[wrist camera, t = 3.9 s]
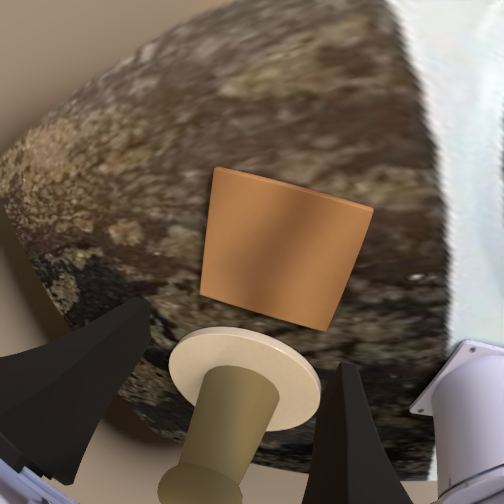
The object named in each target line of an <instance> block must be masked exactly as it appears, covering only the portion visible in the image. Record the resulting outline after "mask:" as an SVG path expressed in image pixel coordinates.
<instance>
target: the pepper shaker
mask: <svg viewBox="0 0 504 504" xmlns="http://www.w3.org/2000/svg"><path fill="white" fill-rule="evenodd" d="M279 400H280V396H279V391H278V390H277V388H276V387H275V385H274V384H273V383H272V382H271V381H269V380H268V379H267V378H266V377H265V376H263V375H261V374H259V373H257V372H255V371H253V370H250V369H246V368H243V367H239V366H230V365H225V366H217V367H214V368H212V369H210V370H208V372H207V373H206V374H205V376H204V378H203V382H202V385H201V388H200V392H199V395H198V398H197V402H196V405H195V409H194V412H193V415H192V419H191V422H190V426H189V429H188V432H187V436H186V439H185V443H184V446H183V450H182V453H181V456H180V460H179V463H178V465H177V466H175V467H173V468H171V469H169V470H168V471H167V472H166V473H165V474H164V475H163V477H162V478H161V481H160V482H159V486H158V497H159V501H160V502H161V504H242V493H241V491H240V488H239V484H240V482H241V480H242V478H243V476H244V474H245V472H246V471H247V468H248V467H249V464H250V462H251V460H252V458H253V456H254V454H255V452H256V450H257V448H258V446H259V444H260V442H261V440H262V438H263V435H264V433H265V431H266V429H267V427H268V425H269V423H270V420H271V418H272V416H273V414H274V412H275V409H276V407H277V405H278V403H279Z"/></svg>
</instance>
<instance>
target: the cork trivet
mask: <svg viewBox="0 0 504 504" xmlns="http://www.w3.org/2000/svg"><path fill="white" fill-rule="evenodd" d="M372 215H373V208H372V207H368V206H365V205H362V204H359V203H355V202H352V201H349V200H345V199H342V198H339V197H335V196H332V195H328V194H325V193H321V192H318V191H314V190H311V189H307V188H303V187H300V186H296V185H292V184H288V183H285V182H281V181H277V180H273V179H269V178H265V177H261V176H257V175H253V174H249V173H244V172H240V171H236V170H232V169H227V168H223V167H216V168H215V169H214V174H213V181H212V189H211V197H210V205H209V213H208V221H207V230H206V238H205V247H204V256H203V266H202V276H201V286H200V295H203V296H206V297H209V298H212V299H216V300H219V301H222V302H225V303H228V304H231V305H234V306H238V307H241V308H244V309H247V310H251V311H254V312H257V313H261V314H264V315H267V316H271V317H274V318H277V319H281V320H284V321H288V322H291V323H295V324H298V325H302V326H305V327H309V328H312V329H316V330H320V331H323V332H326V331H327V329H328V326H329V324H330V322H331V319H332V317H333V315H334V313H335V310H336V308H337V306H338V303H339V301H340V298H341V296H342V294H343V291H344V289H345V286H346V284H347V281H348V279H349V276H350V274H351V271H352V269H353V266H354V264H355V261H356V259H357V256H358V253H359V251H360V248H361V245H362V243H363V240H364V237H365V234H366V232H367V229H368V226H369V223H370V220H371V218H372Z"/></svg>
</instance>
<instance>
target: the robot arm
mask: <svg viewBox="0 0 504 504" xmlns="http://www.w3.org/2000/svg"><path fill="white" fill-rule="evenodd" d="M150 340H151V332H150V314H149V302H147V301H145V300H142V299H139V298H137V297H134V298H133V299H131V300H129V301H127V302H125V303H124V304H122V305H120V306H119V307H117V308H115V309H114V310H112V311H110V312H109V313H107V314H105V315H103V316H102V317H100V318H98V319H96V320H95V321H93V322H91V323H89V324H88V325H86V326H84V327H82V328H80V329H78V330H76V331H74V332H72V333H70V334H68V335H66V336H64V337H62V338H60V339H57V340H55V341H53V342H50V343H48V344H45V345H42V346H40V347H37V348H34V349H30V350H28V351H24V352H21V353H17V354H13V355H9V356H5V357H0V504H49V503H48V501H49V502H50V503H52V504H79V503H77V502H76V501H74V500H72V499H71V498H69V497H68V496H66V495H65V494H63V493H62V492H60V491H59V490H57V489H55V488H54V487H53V486H51V485H50V484H49V483H47V482H46V481H44V480H43V479H41V478H42V476H43V475H44V476H45V477H47V478H48V479H50V480H51V479H52V478H54V479H56V480H57V481H59V482H60V483H62V484H63V485H71V484H73V482H74V479H75V476H76V474H77V471H78V468H79V465H80V463H81V460H82V458H83V455H84V453H85V451H86V448H87V446H88V444H89V442H90V440H91V437H92V435H93V433H94V431H95V429H96V427H97V425H98V423H99V421H100V419H101V418H102V416H103V414H104V412H105V410H106V408H107V407H108V405H109V404H110V402H111V400H112V399H113V397H114V396H115V395H116V393H117V392H118V391H119V389H120V388H121V386H122V385H123V383H124V382H125V381H126V379H127V378H128V376H129V375H130V374H131V372H132V371H133V369H134V368H135V367H136V365H137V364H138V362H139V361H140V359H141V357H142V355H143V354H144V352H145V350H146V348H147V346H148V344H149V342H150ZM472 347H473V348H472ZM470 348H471V349H470ZM410 412H411V413H415V414H422V415H429V416H433V420H434V430H435V441H436V455H437V476H438V500H437V501H435V502H433V503H431V504H504V348H501V347H497V346H493V345H489V344H484V343H480V342H476V341H472V340H464V341H463V342H461V344H460V345H459V346H458V348H457V349H456V350H455V352H454V353H453V354H452V356H451V357H450V358H449V360H448V361H447V362H446V364H445V365H444V366H443V367H442V369H441V370H440V371H439V373H438V374H437V375H436V376H435V378H434V379H433V380H432V381H431V382H430V384H429V385H428V386H427V387H426V388H425V390H424V391H423V392H422V393H421V394H420V395H419V397H418V398H417V399H416V400H415V401H414V402H413V403H412V404H411V406H410ZM302 504H413V502H412V501H411V499H410V497H409V496H408V494H407V492H406V491H405V489H404V487H403V486H402V484H401V482H400V481H399V479H398V477H397V475H396V473H395V471H394V469H393V467H392V465H391V463H390V461H389V459H388V457H387V455H386V452H385V450H384V448H383V445H382V443H381V440H380V438H379V435H378V432H377V430H376V427H375V424H374V421H373V418H372V415H371V412H370V409H369V406H368V403H367V399H366V396H365V392H364V389H363V385H362V382H361V378H360V374H359V370H358V367H357V366H356V365H352V364H348V363H343V362H340V364H339V366H338V367H337V369H336V371H335V373H334V374H333V376H332V378H331V380H330V381H329V383H328V385H327V386H326V388H325V390H324V391H323V393H322V396H321V400H320V405H319V409H318V414H317V418H316V426H315V435H314V443H313V451H312V459H311V467H310V473H309V478H308V482H307V486H306V490H305V493H304V497H303V500H302Z"/></svg>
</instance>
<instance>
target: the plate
mask: <svg viewBox="0 0 504 504" xmlns="http://www.w3.org/2000/svg"><path fill="white" fill-rule="evenodd" d="M225 365H230V366H239V367H243V368H246V369H250V370H253V371H255V372H257V373H259V374H261V375H263V376H265V377H266V378H267V379H268V380H269V381H271V382H272V383H273V384H274V385H275V387H276V388H277V390H278V391H279V396H280V400H279V403H278V405H277V407H276V409H275V412H274V414H273V416H272V418H271V420H270V423H269V425H268V427H267V429H266V431H278V430H285V429H289V428H293V427H296V426H298V425H300V424H302V423H304V422H306V421H307V420H308V419H310V418H311V417H312V416H313V415H314V413H315V412H316V410H317V408H318V406H319V403H320V398H321V385H320V380H319V378H318V376H317V373H316V372H315V370H314V369H313V367H312V366H311V365H310V364H309V362H308V361H307V360H306V359H305V358H304V357H302V356H301V355H300V354H299V353H298V352H296V351H295V350H294V349H292V348H291V347H289V346H287V345H286V344H284V343H282V342H280V341H278V340H276V339H274V338H272V337H269V336H267V335H264V334H261V333H258V332H255V331H251V330H247V329H241V328H235V327H209V328H203V329H200V330H196V331H194V332H191V333H189V334H187V335H186V336H185V337H183V338H182V339H181V340H180V341H179V342H178V343H177V345H176V346H175V348H174V350H173V351H172V353H171V355H170V359H169V371H170V375H171V378H172V380H173V382H174V384H175V385H176V387H177V389H178V390H179V391H180V392H181V394H182V395H183V396H184V397H185V398H186V399H187V400H188V401H189V402H190V403H191V404H193V405H194V406H195V405H196V402H197V398H198V395H199V392H200V388H201V385H202V382H203V378H204V376H205V374H206V373H207V372H208V370H210V369H212V368H214V367H217V366H225Z"/></svg>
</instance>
